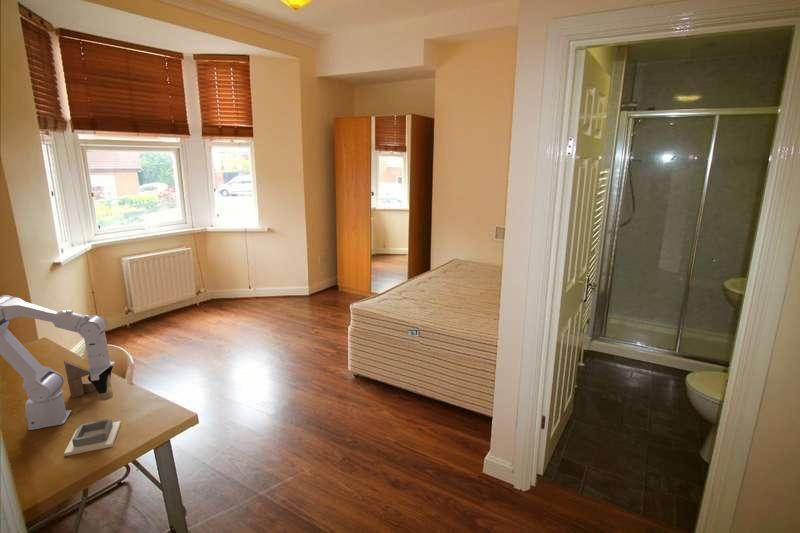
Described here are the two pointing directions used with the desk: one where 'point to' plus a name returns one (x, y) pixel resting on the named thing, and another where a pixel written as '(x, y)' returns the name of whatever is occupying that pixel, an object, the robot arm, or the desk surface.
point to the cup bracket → (93, 436)
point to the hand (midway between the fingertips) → (104, 389)
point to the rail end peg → (109, 391)
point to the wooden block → (77, 379)
